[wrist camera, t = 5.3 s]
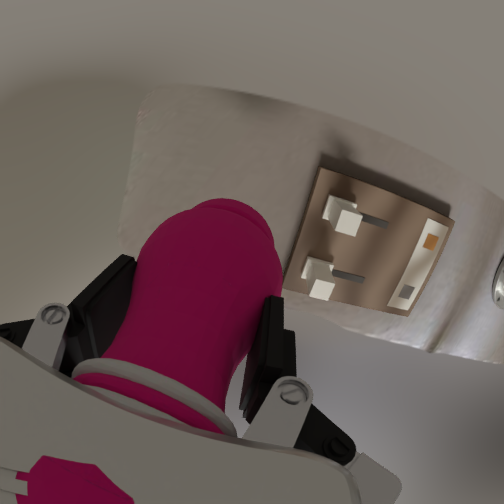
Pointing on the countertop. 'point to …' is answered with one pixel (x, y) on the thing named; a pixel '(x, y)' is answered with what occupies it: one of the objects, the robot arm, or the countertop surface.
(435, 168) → the countertop surface
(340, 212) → the tab
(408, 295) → the switch board
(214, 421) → the pepper mill
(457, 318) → the countertop surface
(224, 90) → the countertop surface
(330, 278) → the tab
